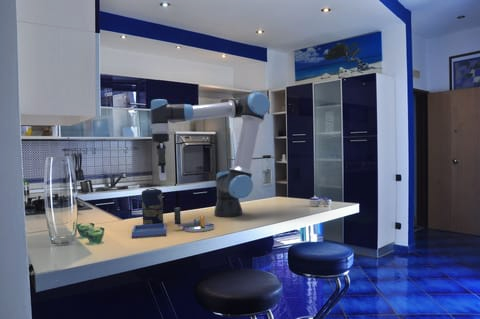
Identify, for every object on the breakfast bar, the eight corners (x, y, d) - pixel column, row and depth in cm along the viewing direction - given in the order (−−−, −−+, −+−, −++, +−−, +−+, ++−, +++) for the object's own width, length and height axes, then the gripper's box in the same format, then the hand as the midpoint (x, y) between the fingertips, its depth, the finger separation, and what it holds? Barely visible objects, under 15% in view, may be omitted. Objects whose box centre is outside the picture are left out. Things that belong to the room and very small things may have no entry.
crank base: (212, 224, 174) (211, 210, 173) (216, 230, 160) (215, 215, 160) (181, 226, 171) (181, 212, 171) (183, 233, 157) (182, 218, 157)
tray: (165, 228, 168) (165, 223, 168) (166, 235, 153) (165, 229, 153) (134, 230, 165) (134, 225, 165) (131, 238, 151) (131, 232, 151)
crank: (202, 223, 168) (201, 205, 167) (203, 225, 164) (202, 207, 164) (174, 225, 165) (174, 207, 165) (174, 227, 161) (174, 208, 161)
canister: (158, 228, 169) (156, 188, 169) (139, 227, 171) (137, 189, 171) (166, 224, 179) (165, 186, 178) (148, 223, 181) (146, 186, 180)
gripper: (151, 134, 182) (153, 177, 183) (152, 132, 158) (154, 181, 159) (167, 134, 184) (169, 177, 185) (170, 131, 160) (172, 180, 161)
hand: (162, 179), depth 172 cm, fingers open, 13 cm apart
